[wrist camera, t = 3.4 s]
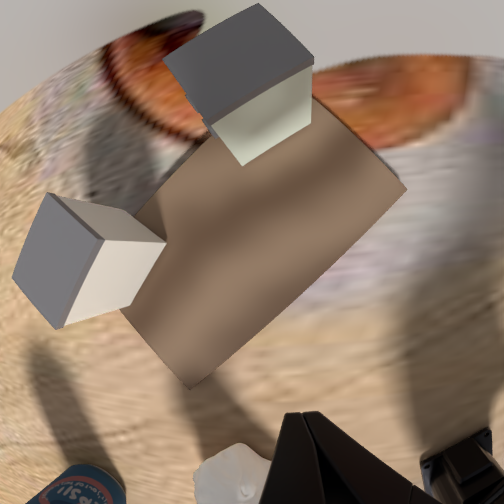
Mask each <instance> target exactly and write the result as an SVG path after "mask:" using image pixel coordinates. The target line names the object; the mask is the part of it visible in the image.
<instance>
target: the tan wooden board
mask: <svg viewBox="0 0 504 504" xmlns="http://www.w3.org/2000/svg"><path fill="white" fill-rule="evenodd" d="M406 190H407V188H406V187H405V186H404V185H403V184H402V183H401V182H400V181H399V180H398V178H397V177H396V176H395V175H394V174H393V173H392V172H391V171H390V170H389V169H388V168H387V167H386V166H385V165H384V164H383V163H382V162H381V161H380V160H379V159H378V158H377V157H376V156H375V155H374V154H373V153H372V152H371V151H370V150H369V149H368V148H367V147H366V146H365V145H364V144H363V143H362V142H361V141H360V140H359V139H358V138H357V137H356V136H355V135H354V134H353V133H352V132H351V131H350V130H349V129H348V128H346V127H345V126H344V125H343V124H342V123H341V122H340V121H339V120H338V119H337V118H335V117H334V116H333V115H332V114H331V113H330V112H329V111H328V110H326V109H325V108H324V107H323V106H322V105H321V104H319V103H318V102H317V101H316V100H315V99H314V98H312V104H311V123H310V124H309V125H307V126H305V127H304V128H302V129H301V130H299V131H297V132H296V133H294V134H292V135H291V136H289V137H287V138H286V139H284V140H283V141H281V142H279V143H278V144H276V145H275V146H273V147H271V148H270V149H268V150H267V151H265V152H264V153H262V154H260V155H259V156H257V157H256V158H254V159H253V160H251V161H250V162H248V163H247V164H245V165H244V166H242V165H241V164H240V163H239V162H238V160H237V159H236V158H235V156H234V155H233V154H232V152H231V151H230V150H229V148H228V147H227V146H226V145H225V143H224V142H223V141H222V139H221V138H220V137H218V138H217V139H215V138H214V137H213V135H211V136H210V137H209V138H208V139H207V140H206V141H205V142H204V143H203V144H202V145H201V146H200V147H199V148H198V149H197V150H196V151H195V152H194V153H193V154H192V155H191V156H190V157H189V158H188V159H187V160H186V161H185V162H184V163H183V164H182V165H181V166H180V167H179V168H178V169H177V170H176V171H175V172H174V173H173V174H172V175H171V177H170V178H169V179H168V180H167V181H166V182H165V183H164V184H163V185H162V186H161V187H160V188H159V189H158V190H157V191H156V192H155V194H154V195H153V196H152V197H151V198H150V199H149V200H148V201H147V202H146V203H145V205H144V206H143V207H142V208H141V209H140V210H139V211H138V212H137V213H136V215H135V216H134V218H135V219H136V220H137V221H139V222H140V223H141V224H143V225H144V226H145V227H147V228H148V229H149V230H150V231H152V232H153V233H154V234H156V235H157V236H158V237H160V238H161V239H162V240H164V241H165V242H166V243H167V244H166V245H165V247H164V249H163V250H162V252H161V253H160V255H159V257H158V258H157V260H156V262H155V263H154V265H153V267H152V268H151V270H150V272H149V273H148V275H147V277H146V279H145V280H144V282H143V284H142V285H141V287H140V289H139V291H138V292H137V294H136V296H135V297H134V299H133V301H132V303H131V305H130V306H127V307H123V308H120V309H119V310H120V311H121V312H122V313H123V315H124V316H125V317H126V318H127V320H128V321H129V322H130V323H131V325H132V326H133V327H134V328H135V329H136V331H137V332H138V333H139V334H140V335H141V337H142V338H143V339H144V340H145V341H146V343H147V344H148V345H149V346H150V347H151V348H152V350H153V351H154V352H155V353H156V354H157V355H158V356H159V358H160V359H161V360H162V361H163V362H164V363H165V364H166V365H167V366H168V368H169V369H170V370H171V371H172V372H173V373H174V374H175V375H176V376H177V377H178V378H179V380H180V381H181V382H182V383H183V384H184V385H185V386H186V387H187V388H188V389H189V390H190V389H192V388H193V387H194V386H195V385H197V384H198V383H199V382H200V381H202V380H203V379H204V378H205V377H206V376H208V375H209V374H210V373H211V372H213V371H214V370H215V369H216V368H217V367H219V366H220V365H221V364H222V363H223V362H225V361H226V360H227V359H228V358H229V357H231V356H232V355H233V354H234V353H235V352H236V351H238V350H239V349H240V348H241V347H242V346H243V345H245V344H246V343H247V342H248V341H249V340H250V339H252V338H253V337H254V336H255V335H256V334H257V333H258V332H260V331H261V330H262V329H263V328H264V327H265V326H266V325H268V324H269V323H270V322H271V321H272V320H273V319H274V318H275V317H277V316H278V315H279V314H280V313H281V312H282V311H283V310H284V309H285V308H287V307H288V306H289V305H290V304H291V303H292V302H293V301H294V300H295V299H296V298H298V297H299V296H300V295H301V294H302V293H303V292H304V291H305V290H306V289H307V288H308V287H309V286H311V285H312V284H313V283H314V282H315V281H316V280H317V279H318V278H319V277H320V276H321V275H322V274H323V273H324V272H325V271H327V270H328V269H329V268H330V267H331V266H332V265H333V264H334V263H335V262H336V261H337V260H338V259H339V258H340V257H341V256H342V255H343V254H344V253H345V252H346V251H347V250H348V249H349V248H350V247H351V246H352V245H353V244H354V243H355V242H356V241H358V240H359V239H360V238H361V237H362V236H363V235H364V234H365V233H366V232H367V231H368V230H369V229H370V228H371V227H372V226H373V225H374V224H375V223H376V221H377V220H378V219H379V218H380V217H381V216H382V215H383V214H384V213H385V212H386V211H387V210H388V209H389V208H390V207H391V206H392V205H393V204H394V203H395V202H396V201H397V200H398V199H399V198H400V197H401V196H402V195H403V194H404V193H405V192H406Z"/></svg>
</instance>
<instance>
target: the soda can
mask: <svg viewBox="0 0 504 504" xmlns="http://www.w3.org/2000/svg"><path fill="white" fill-rule="evenodd" d="M26 504H126V495H125V492H124V490H123V488H122V486H121V485H120V484H119V482H118V481H117V480H116V479H115V478H114V477H113V476H112V475H110V474H109V473H108V472H106V471H105V470H103V469H102V468H100V467H97V466H95V465H91V464H77V465H73V466H71V467H69V468H68V469H67V470H66V471H65V472H63V473H62V474H61V475H60V476H59V477H57V478H56V479H55V480H54V481H53V482H51V483H50V484H49V485H48V486H46V487H45V488H44V489H43V490H42V491H40V492H39V493H38V494H37V495H36V496H34V497H33V498H32V499H31V500H29V501H28V502H27V503H26Z"/></svg>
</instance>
